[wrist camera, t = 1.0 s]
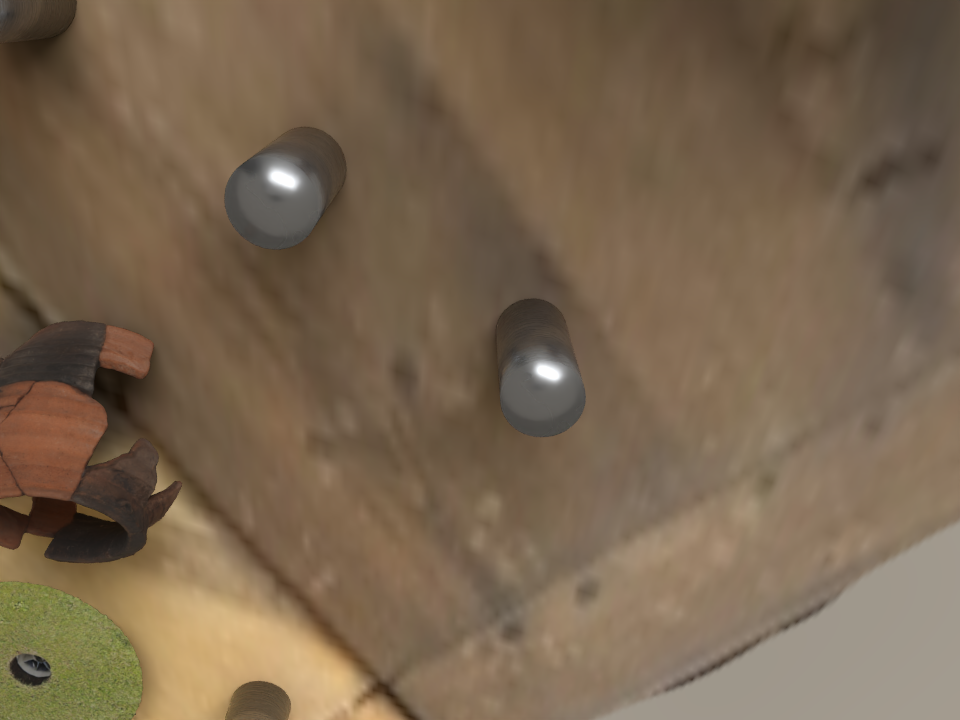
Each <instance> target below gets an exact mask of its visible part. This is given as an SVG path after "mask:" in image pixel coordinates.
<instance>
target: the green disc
mask: <svg viewBox="0 0 960 720" xmlns="http://www.w3.org/2000/svg"><path fill="white" fill-rule="evenodd" d="M142 690H143V687H142V671H141V667H140V664H139V659H138V657H137V655H136V653H135V650H134V649H133V647H132V645H131V644H130V642H129V640H128V638H127V636H124V633H123V632H122V631H121V630H120V628H119V627H117V626H116V625H115V624H114V623H113V622H112V620H110V619H108V618H107V616H106V615H102V614H101V613H99V612H98V610H96V609H94V608H93V607H92V606H88V604H87V603H83V602H82V601H81V600H79V599H78V598H76V597H73V596H71V595H69V594H66V593H65V592H63V591H60V590H57V589H53V588H51V587H49V586H44V585H38V584H31V583H22V582H0V720H131V719H132V718H133V716H134V715H136V712H135V711H136V710H137V708H138V707H139V704H140V702H141V699H140V698H141V696H142Z"/></svg>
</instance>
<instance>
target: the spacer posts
mask: <svg viewBox="0 0 960 720" xmlns="http://www.w3.org/2000/svg"><path fill="white" fill-rule="evenodd" d="M75 11H76V0H0V43H8V42H17V41H27V40H36V39H46V38H51V37H55V36H57V35H59V34H61V33H62V32H63V31H65V30H66V29H67V28H68V26H69V25H70V24H71V22H72V20H73V18H74V15H75ZM345 176H346V161H345V157H344V154H343V152H342V150H341V148H340V146H339V145H338V143H337V142H336V141H335V140H334V139H333V138H332V137H331V136H330V135H328V134H327V133H325V132H323V131H321V130H319V129H316V128H311V127H298V128H294V129H291V130H289V131H287V132H285V133H284V134H282V135H281V136H280V137H278V138H277V139H276V140H274V141H273V142H272V143H270V144H269V145H268V146H266V147H265V148H263V149H262V150H261V151H259V152H258V153H257V154H255V155H254V156H253V157H251V158H250V159H249V160H247V161H246V162H245V163H243V164H242V165H241V166H239V167H238V168H237V169H236V170H235V171H234V172H233V174H232V175H231V177H230V179H229V181H228V183H227V186H226V189H225V208H226V212H227V215H228V218H229V220H230V222H231V223H232V225H233V227H234V228H235V229H236V231H237V232H238V233H239V234H240V235H241V236H242V237H244V238H245V239H246V240H248V241H249V242H251V243H253V244H255V245H257V246H259V247H263V248H267V249H285V248H289V247H292V246H294V245H297V244H298V243H300V242H301V241H303V240H304V239H305V238H306V237H307V236H308V235H309V234H310V233H311V231H312V230H313V228H314V227H315V225H316V224H317V222H318V221H319V219H320V218H321V216H322V215H323V213H324V212H325V211H326V209H327V208H328V206H329V205H330V203H331V202H332V200H333V199H334V197H335V196H336V194H337V193H338V191H339V190H340V188H341V187H342V185H343V183H344V180H345ZM496 343H497V357H498V372H499V387H500V402H501V408H502V412H503V414H504V416H505V418H506V419H507V421H508V422H509V423H510V424H511V425H512V426H513V427H514V428H515V429H517V430H518V431H520V432H522V433H524V434H527V435H530V436H534V437H549V436H554V435H557V434H560V433H562V432H564V431H566V430H567V429H569V428H570V427H571V426H572V425H574V424H575V422H576V421H577V420H578V419H579V417H580V416H581V414H582V412H583V409H584V406H585V398H586V396H585V389H584V385H583V382H582V378H581V375H580V371H579V368H578V364H577V360H576V357H575V353H574V350H573V346H572V343H571V339H570V336H569V332H568V329H567V325H566V321H565V319H564V317H563V315H562V313H561V312H560V311H559V310H558V309H557V308H556V307H555V306H554V305H552V304H551V303H549V302H547V301H544V300H540V299H524V300H520V301H518V302H516V303H514V304H512V305H511V306H509V307H508V308H507V309H506V310H505V311H504V312H503V313H502V315H501V316H500V318H499V320H498V323H497V327H496ZM290 708H291V703H290V699H289V697H288V695H287V694H286V693H285V692H284V691H283V690H282V689H281V688H280V687H278V686H276V685H274V684H272V683H268V682H262V681H255V682H249V683H246V684H244V685H242V686H241V687H239V688H238V689H237V690H236V691H235V693H234V694H233V697H232V700H231V703H230V706H229V709H228V712H227V715H226V717H225V720H288V717H289V713H290Z"/></svg>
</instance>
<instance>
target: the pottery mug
mask: <svg viewBox="0 0 960 720" xmlns="http://www.w3.org/2000/svg"><path fill="white" fill-rule="evenodd" d="M153 349H154V344H153V342H152V341H150V340H149V339H146V338H144V337H143V336H141V335H139V334H137V333H134V332H131V331H129V330H127V329H123V328H118V327H115V326H111V325H105V324H102V323H96V322H85V321H70V322H65V321H64V322H59V323H54V324H51V325H49V326H47V327H46V328H44V329H42V330H40V331H39V332H37V333H36V334H34V335H33V336H32V337H31V338H30V340H28V341H27V342H26V343H24V344H23V345H21V346H20V347H19V348H18V349H16V350H15V351H14V352H13V353H12V354H11V355H9V356H7V357H6V358H5V359H3V358H0V499H2V498H6V497H19V496H23V495H27V496H30V497H32V501H33V505H32V509H31V512H30V514H29V516H28V515H25V514H21V513H18V512H16V511H14V510H12V509H9V508H7V507H5V506H2V505H0V546H3V547H5V548H9V549H13V550H14V549H17V548H18V547H19V546H20V542H21V539H22V536H23V534H24V533H30V534H33V535H38V536H44V537H50V538H54V539H53V540H52V542H51V543H50V544H49V546H48V548H47V550H46V551H45V553H44V555H45V557H46V558H49V559H53V560H56V561H60V562H69V563H70V562H72V563H102V562H110V561H114V560H118V559H120V558H125V557H128V556H131V555H134V554H135V553H136V552H137V551H139V550H140V549H142V548H143V547H144V545H145V544H146V540H147V537H146V534H147V529H148V528H149V527H150V526H152V525H153V524H155V523H156V522H157V521H159V520H160V519H162V517H164V515H165V513H166V512H167V511H168V509H169V508H170V506H171V505H172V503H173V502H174V500H175V499H176V497H177V495H178V493H179V491H180V489H181V487H182V483H181V482H180V481H175V482H174V483H173V484H171V485H170V486H169V487H168V488H167V489H165V490H163V491H161V492H159V493H157V494H154V495H151V494H152V493H153V492H154V490H155V485H156V483H157V473H156V465H157V463H158V460H159V455H158V453H157V451H156V449H155V448H154V447H153V446H152V444H151V443H150V442H149V441H148V440H146V439H144V438H141V439H139V440H138V441H137V442H136V443H135V444H134V445H133V447H132V448H131V450H130V452H129V453H126V454H122V455H120V456H119V457H117V458H114V459H112V460H110V461H107V462H105V463H100V464H96V465H93V466H87V464H88V462H89V460H90V458H91V457H92V454H93V452H94V450H95V448H96V446H97V444H98V443H99V441H100V439H101V437H102V436H103V434H104V433H105V432H106V430H107V427H108V423H107V413H106V411H105V408H104V407H103V406H102V405H101V404H100V403H98V402H97V401H96V400H94V399H93V398H92V394H93V391H94V379H95V372H96V371H97V369H98V368H99V367H103V368H107V369H114V370H116V371H119V372H123V373H125V374H128V375H131V376H133V377H135V378H137V379H142V378H144V377H145V376H146V375H147V374H148V372H149V368H150V358H151V356H152V352H153ZM76 503H77V504H80V505H82V506H85V507H88V508H91V509H94V510H97V511H99V512H101V513H103V514H105V515H107V516H109V517H110V518H112V519H113V520H115V521H116V522H110V521H106V520H102V519H98V518H95V517H92V516H87V515H85V514H82V513H77V512H76V509H77V505H76Z"/></svg>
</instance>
